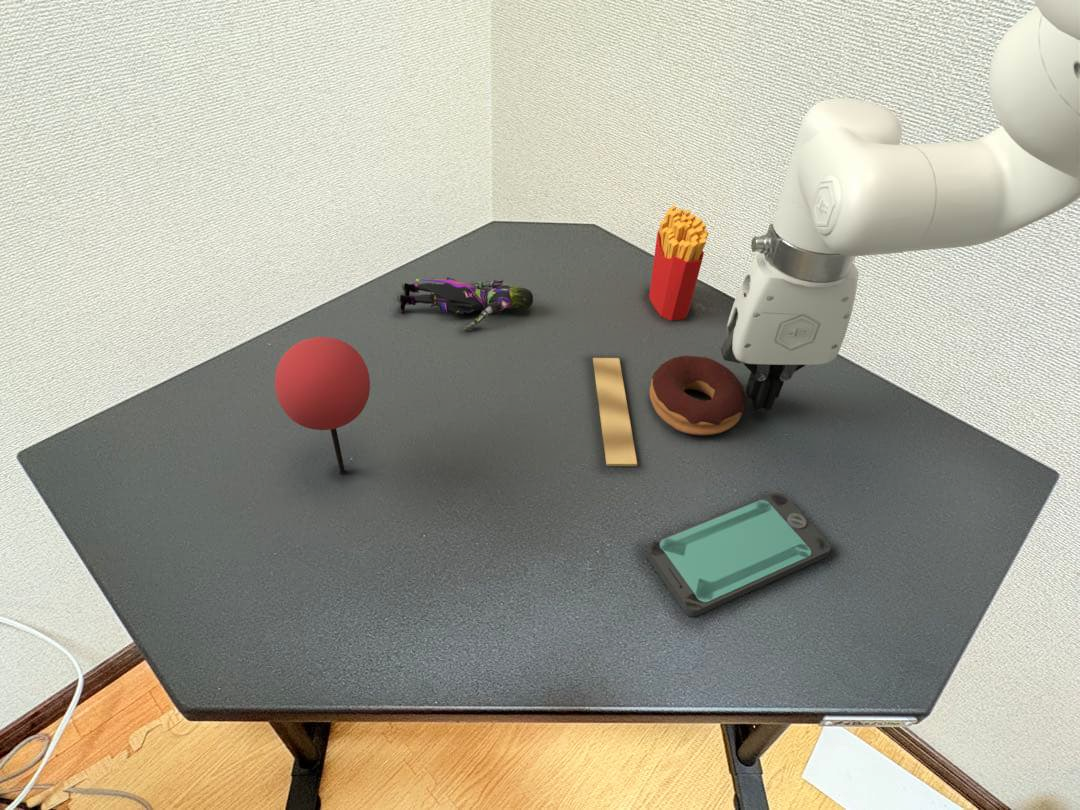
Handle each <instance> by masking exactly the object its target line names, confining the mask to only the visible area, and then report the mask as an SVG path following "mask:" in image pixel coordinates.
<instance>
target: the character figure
mask: <svg viewBox="0 0 1080 810" xmlns="http://www.w3.org/2000/svg"><path fill="white" fill-rule="evenodd" d="M419 281H421V279H420V278H416V279H415V283H408V282H407V283H406V282H402V284H401V288H402V290H403V294H398V295H397V302H398V311H399V313H404V312H405V311H406V309H405V308H406V305H407V306H416V305H417V304H425V305H426V304H428V305H429V304H430V305H429V306H430V308H433V307H435V306H436V307H438V308H439V311H440V312H443V313H444V314H446V313H456V314H460V315H463V314H464V313H466V314H470V313H473V312H476V311H481V313H480V314H479V315H478V316H477V317H476V318H475V319H474V320H473V321H472V322H471V323H469V324H468V325H465V326H464V328H463V329H462V330H463V331H469V330H472V329H473V328H474V327H475V326H476V325H479V324H480V323H481V322H482V321H483V320H485V319H486V318H487V317H489V315H491V314H495V313H497V314H500V315H501V311H503V310H504V309H512V308H513V309H514V308H519V309H528V308H530V307H531V306H533V303H534V294H533V293H532V291H531V290H530V289H528V288H526V287H520V286H517V285H509V284H506V283H505V284H504V283H503V282H504V280H497V279H496V280H495V279H494V280H493V281H474V283H471V284H469V283H465V282H462V281H459V280H456V279H454V278H453V277H448V276H447V277H446V278H443V279H442V278H423V279H422V282H423V281H425V282H424V283H418V282H419ZM432 282H433V283H432ZM486 287H487V288H491V289H489V290H486V289H483V288H486ZM419 291H421V292H427V293H430V294H420V292H419ZM410 293H412V295H410ZM417 293H418V294H419V295H413V294H417Z"/></svg>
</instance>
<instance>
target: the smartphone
mask: <svg viewBox="0 0 1080 810" xmlns="http://www.w3.org/2000/svg"><path fill="white" fill-rule="evenodd" d="M830 551H831V544H830V542H829V541H828V540H827V539H826V538H825V537H824V536H823V534H821V533H820V532H819V531H818V529H817V528H816V527H815V526H814V525H813V524H812V523H811V522H810V521H809V519H807V517H806V516H805V515H804V513H802V512H801V511H800V510H799V509H798V507H796V505H794V503H793V502H792V501H791V500H790V499H789V498H788V497H787V495H785V494H784V493H782V492H773V493H771V494H769V495H766V496H764V497H761V498H758V499H756V500H754V501H750V502H748V503H746V504H744V505H742V506H739V507H736V508H734V509H731V510H728V511H727V512H723V513H722V514H718V515H716V516H713V517H710V518H708V519H706V520H703V521H701V522H698V523H696V524H694V525H690V526H688V527H686V528H684V529H680V530H678V531H675V532H673V533H670V534H668V535H665V536H663V537H661V538H659V539H656V540H654V541H652V542H649V544H647V548H646V552H645V557H646V559H647V560H648V562H649V563H650V564H651V566H652V567H653V569H654V570H655V571H656V573H657V574H658V576H659V578H660V579H661V580H662V581H663V583H664V584H665V586H666V587H667V588H668V590H669V592H670V593H671V595H672V596H673V598H674V599H675V600H676V603H678V605H679V606H680V607H681V609H682V611H683V612H684V614H685V615H687V616H689V617H697V616H700V615H702V614H704V613H706V612H708V611H711V610H713V609H715V608H717V607H720V606H722V605H724V604H726V603H728V602H731V601H733V600H735V599H738V598H739V597H742V596H744V595H746V594H748V593H750V592H752V591H755V590H757V589H759V588H761V587H764V586H766V585H768V584H770V583H773V582H775V581H777V580H779V579H781V578H783V577H785V576H788V575H790V574H792V573H794V572H796V571H798V570H801V569H803V568H805V567H807V566H809V565H812V564H814V563H817V562H818V561H821V560H823V559H825V558H827V556H828V555H829V553H830Z"/></svg>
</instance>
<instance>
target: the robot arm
mask: <svg viewBox="0 0 1080 810" xmlns="http://www.w3.org/2000/svg"><path fill="white" fill-rule="evenodd" d="M1033 2H1034V4H1035V5H1036V6H1035V7H1034V8H1032V9H1031V10H1030V11H1028V12H1027V13H1026V14H1025V15H1024V16H1022V17H1021V18H1020V19H1019V20H1017V21H1016V22H1015V23H1013V24H1012V26H1011V27H1010V28H1009V29H1008V30H1007V31H1006V32H1005V33H1004V35H1003V36H1002V37H1001V38H1000V41H999V42H998V44H997V46H996V48H995V50H994V52H993V54H992V57H991V60H990V65H989V72H988V90H989V91H988V92H989V97H990V100H991V105H992V108H993V110H994V113H995V116H996V117H997V119H998V122H999V123H1000V125H1001V126H999V127H998V128H996V129H994V130H993V131H991V132H990V133H988V134H986V135H984V136H982V137H979V138H977V139H974V140H969V141H968V140H967V141H965V140H964V141H943V142H930V143H929V142H928V143H925V142H924V143H909V144H900V143H901V139H902V135H903V127H902V124H901V121H900V119H899V118H898V117H897V115H896V114H895V113H894V112H893V111H891V110H890V109H888V108H886V107H884V106H882V105H880V104H878V103H874V102H872V101H869V100H863V99H858V98H850V97H849V98H848V97H837V98H836V97H835V98H828V99H824V100H822V101H820V102H817V103H815V104H814V105H813V106H812V107H810V108H809V109H808V110H807V112H806V113H805V115H804V116H803V118H802V121H801V123H800V126H799V129H798V132H797V135H796V139H795V143H794V146H793V150H792V154H791V157H790V160H789V165H788V168H787V172H786V175H785V178H784V182H783V186H782V189H781V193H780V196H779V199H778V202H777V206H776V210H775V213H774V216H773V220H772V223H770V224H769V225H768V229H767V231H766V233H765V234H762V235H761V236H753V237H752V239H751V244H750V246H751V247H750V248H751V252H753V253H756V255H755V256H754V258H753V259H752V261H751V263H750V265H749V267H748V269H747V271H746V273H745V274H744V277H743V280H742V281H741V284H740V286H739V289H738V291H737V293H736V296H735V298H734V301H733V304H732V308H731V310H730V314H729V317H728V320H727V323H726V324H727V325H726V334H727V338H726V340H725V341H724V342H723V345H722V346H721V348H720V352H721V355H722V358H723V360H724V361H726V362H732V363H735V364H743V365H744V366H745V368H746V369H748V370H749V372H750V375H749V377H748V380H747V384H746V387H745V394H746V396H747V398H748V399H751V402H752V405H753V408H754V410H755V411H761V410H762V409H763V410H764V411H772V409H773V405H774V403H775V400H776V399H778V398H779V397H780V394H781V391H782V388H783V385H784V383H785V382H787V381H790V380H791V378H792V377H793V375H794V374H795V373H796V372H797V371H799V370H800V369H802V368H804V367H805V366H815V365H825V364H828V363H830V362H832V361H834V360H835V359H836V357H837V356H838V355H839V352H840V350H841V348H842V346H843V342H844V340H845V337H846V333H847V331H848V327H849V324H850V320H851V318H852V313H853V310H854V305H855V301H856V294H857V288H858V282H859V270H858V268H857V266H856V265H855V264H854V262H855V259H856V257H865V256H878V255H889V254H890V255H891V254H901V253H905V252H907V253H908V252H918V251H929V250H943V249H953V248H954V249H955V248H965V247H973V246H977V245H981V244H986V243H989V242H992V241H995V240H998V239H1000V238H1003V237H1005V236H1007V235H1009V234H1012V233H1014V232H1017V231H1019V230H1021V229H1023V228H1025V227H1027V226H1030V225H1033V224H1034V223H1036V222H1038V221H1040V220H1042V219H1044V218H1047V217H1049V216H1051V215H1053V214H1055V213H1057V212H1059V211H1061V210H1063V209H1065V208H1066V207H1068V206H1070V205H1072V204H1073V203H1074V202H1076V201H1077V200H1079V199H1080V0H1033Z"/></svg>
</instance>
